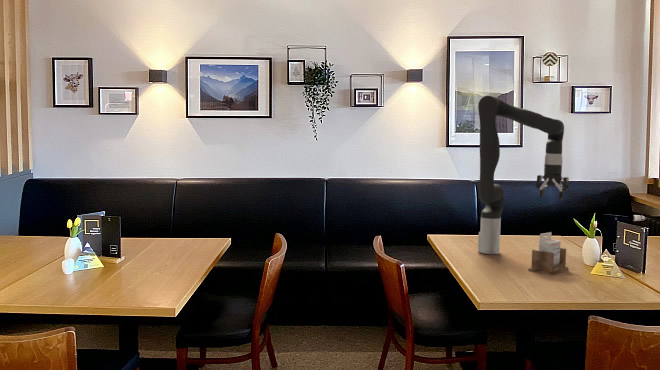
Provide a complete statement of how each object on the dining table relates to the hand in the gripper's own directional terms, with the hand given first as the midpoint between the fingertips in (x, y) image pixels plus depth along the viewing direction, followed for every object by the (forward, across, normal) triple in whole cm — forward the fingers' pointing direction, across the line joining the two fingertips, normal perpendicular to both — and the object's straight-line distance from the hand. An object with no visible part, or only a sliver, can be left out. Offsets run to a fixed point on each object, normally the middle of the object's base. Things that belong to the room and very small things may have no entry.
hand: (551, 198), depth 275 cm
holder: (+28, +9, -20) cm, 36 cm away
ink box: (+27, +9, -20) cm, 35 cm away
